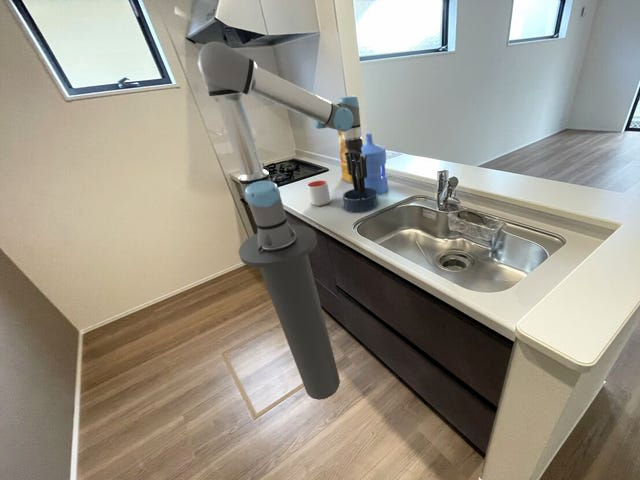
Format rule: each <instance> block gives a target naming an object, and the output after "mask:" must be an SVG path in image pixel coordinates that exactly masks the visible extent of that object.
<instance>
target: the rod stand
mask: <svg viewBox="0 0 640 480" xmlns="http://www.w3.org/2000/svg"><path fill="white" fill-rule="evenodd" d="M356 178H357V186H358V194H359V199H357V200H360V199H365V198H362V193H360V191H359V182H358V178H359V175H358V171H357V168H356Z"/></svg>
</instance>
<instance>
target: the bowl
mask: <svg viewBox="0 0 640 480" xmlns="http://www.w3.org/2000/svg"><path fill="white" fill-rule="evenodd" d="M362 198H365V199H360V200H357V199H359V194H358V191H354V188H351V189H349V190H347V191H345V192H343V194H342V202H343V206H344V207H343V208H344V210H345V211H346V212H350V213H366V212H370V211H372V210H375V209H376V208H377V207H379V195H378V194H377V190H375V189H373V188H365V192H363V193H362Z"/></svg>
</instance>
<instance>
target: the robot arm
mask: <svg viewBox="0 0 640 480" xmlns="http://www.w3.org/2000/svg"><path fill="white" fill-rule="evenodd" d="M197 67H198V71H199V73H200V75H201V77H202V79H203V82H204V85H205V87H206V90H207V93H208V97H209V98H210V99H212V100H213V101H214V102H215V103H216V105H217V107H218V111H219V114H220V117H221V120H222V122H223V125H224V128H225V131H226V133H227V134H226V135H227V137H228V140H229V143H230V145H231V148H232V151H233V154H234V157H235V161H236V163H237V166H238V169H239V171H240V175H239V176H238V181H239V184H240V187H241V190H242V195H243V197H244V199H245V201H246V202H247V205H248V207H249V208H250V211H251V214H252V217H253V219H254V222H255V225H256V228H257V233H258V245H259V249H258V251H259V252H260V251H261V250H263V251H267V252H274V251H280V250H283V249H286V248H288V247H290V246H292V245H293V244H294V243H295V242H296V240H297V237H296V234H295V231H294V229H292V227H291V226H290V225H291V224H290V222H289V221H288V219H287V215H286V210H285V207H284V205H283V201H282V200H283V199H282V196H281V191H280V189H279V187H278V185H277V184H276V183H275V182H274V181H272V180H271V176H270V172H269V171H268V170H266V169H264V165H263V163H262V160H261V156H260V152H259V149H258V146H257V143H256V140H255V139H256V138H255V137H254V133H253V130H252V126H251V123H250V119H249V116H248V113H247V109H246V106H245V102H244V96H245V95H246V96H249V95H251V94H253V95H255V96H258V97H260V98H262V99H264V100H266V101H269V102H271V103H274V104H276V105H278V106H280V107H283V108H285V109H287V110H290V111H292V112H294V113H296V114H299V115H302V116H304V117H306V118H308V119H310V120H312V123H313V125H314V127H315V128H316V129H318V130H321V129H322V130H323V129H326V128H327V129H328V128H329V129H331V130H335V131H337V130H338V131H341V132H343V131H344V138H345V146H346V149H348V152H346V153H345V157H346V161H347V167H348V173H349V175H351V177H352V180H353V183H352V186H353V189H354V191H358V186H357V178H356V168H357V171H358V175H359V178H358V182H359V191H360V193H363V192H365V181H364V178H366V177H367V166H366V158H367V156H366V155H363V154H362V151H361V148H362V147H363V145H364V144H363V142H364V141H363V138H362V137H363V136H362V127H361V115H360V114H361V113H360V105H359V100H358V97H357V96H356V95H345V96H340V98H338V99H339V100H338V103H332V102H331V101H329V100H327V99H325V98H323V97H321V96H319V95H317V94H314V93H312V92H311V91H309V90H307V89H305V88H303V87H301V86H298V85H296V84H294V83H292V82H290V81H288V80H286V79H284V78H282V77H280V76H278V75H276V74H274V73H272V72H269V71H267V70H266V69H264V68H261V67H259V65H257V63H256V61H255V60H254V59H252V58H249V57H248V56H246V55H245V54H242V53H241V52H239V51H237V50H236V49H234V48H233V47H231V46H229V45H227V44H226V43H223V42H220V41H210V42H207V43H205V44H204V45H203V46H202V47H201V49H200V51H199V53H198V56H197ZM350 171H351V172H350Z"/></svg>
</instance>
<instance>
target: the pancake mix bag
mask: <svg viewBox="0 0 640 480" xmlns="http://www.w3.org/2000/svg"><path fill="white" fill-rule="evenodd" d="M336 131H337V139H338V148H339V157H340V158H339V159H340V168H341V169H340V171H341V179H342V180H343V181H346V182H348V183H349V184H353V180H352V177H351V175H349V173H348V167H347V161H346V157H345V153H346V152H348V149H346V146H345V138H344V131H343V132H341V131H338V130H336ZM350 172H351V171H350Z"/></svg>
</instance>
